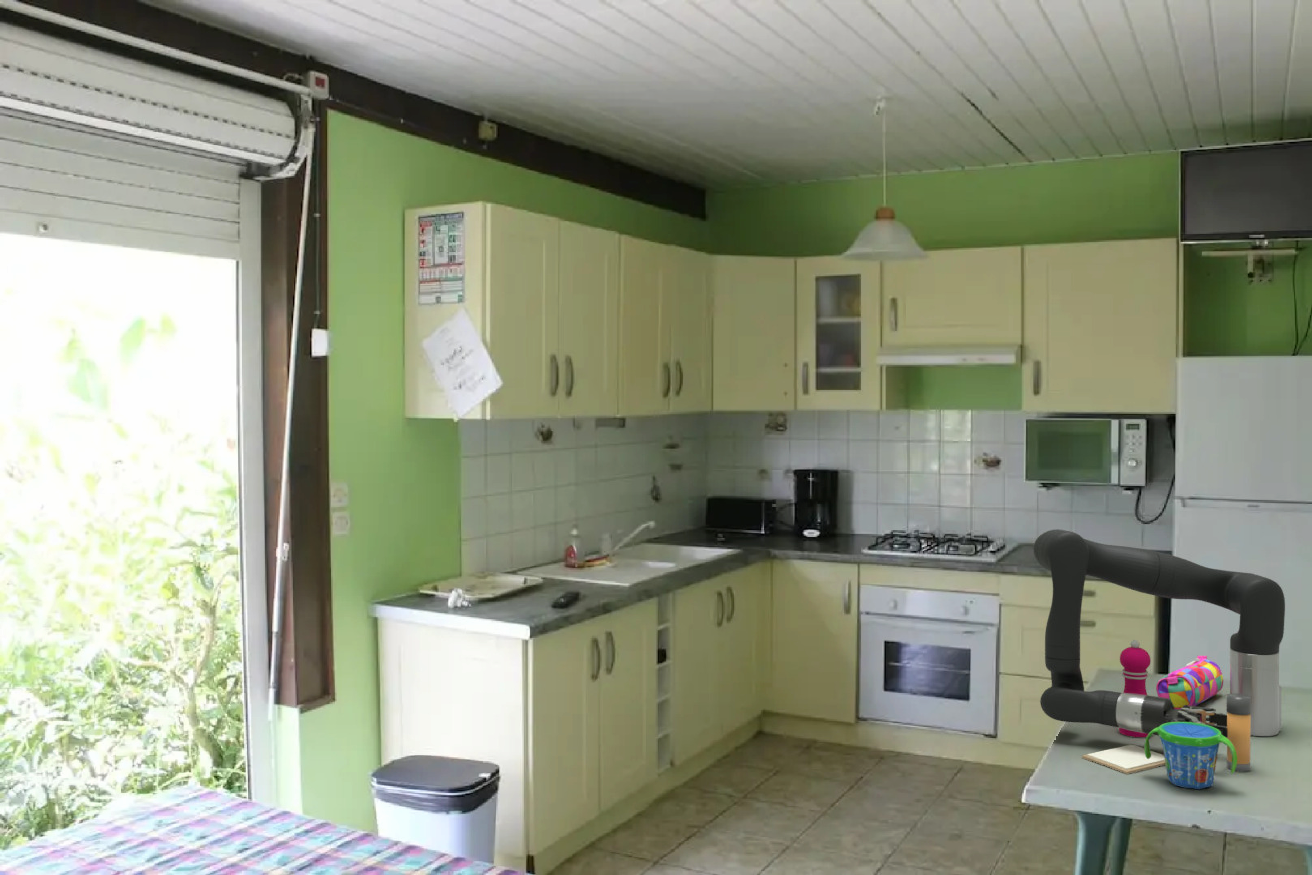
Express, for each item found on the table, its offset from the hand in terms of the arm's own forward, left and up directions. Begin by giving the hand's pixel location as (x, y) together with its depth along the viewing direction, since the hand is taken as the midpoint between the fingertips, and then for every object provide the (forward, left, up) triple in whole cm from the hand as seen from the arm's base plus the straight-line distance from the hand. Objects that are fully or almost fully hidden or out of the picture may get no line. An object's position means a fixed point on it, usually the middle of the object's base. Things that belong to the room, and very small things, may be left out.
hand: (1232, 727), depth 216 cm
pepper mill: (-1, -24, -8) cm, 25 cm away
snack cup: (+14, +2, -8) cm, 17 cm away
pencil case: (-32, -34, -8) cm, 47 cm away
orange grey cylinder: (0, +1, -8) cm, 8 cm away
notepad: (+14, -13, -8) cm, 20 cm away
